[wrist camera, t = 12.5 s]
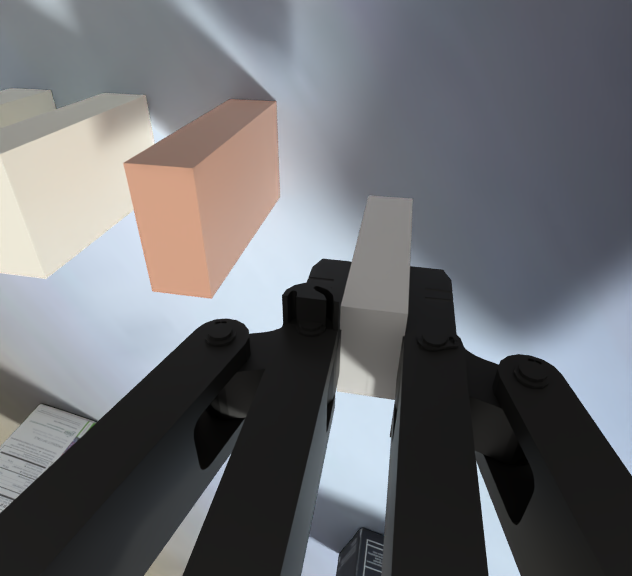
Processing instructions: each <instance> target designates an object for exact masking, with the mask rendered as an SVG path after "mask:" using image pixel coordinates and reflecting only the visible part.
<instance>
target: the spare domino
mask: <svg viewBox="0 0 632 576" xmlns="http://www.w3.org/2000/svg"><path fill="white" fill-rule="evenodd" d="M123 165H124V169H125V173H126V178H127V182H128V186H129V191H130V195H131V200H132V204H133V208H134V213H135V217H136V221H137V226H138V230H139V235H140V239H141V243H142V248H143V252H144V257H145V261H146V265H147V270H148V274H149V278H150V283H151V287H152V291H154V292H162V293H170V294H178V295H186V296H195V297H203V298H211V299H212V298H213V296H214V295H215V293H216V292H217V290H218V289H219V287H220V286H221V284H222V283H223V281H224V280H225V278H226V277H227V275H228V274H229V272H230V271H231V269H232V268H233V266H234V265H235V263H236V262H237V260H238V259H239V257H240V256H241V254H242V253H243V251H244V250H245V248H246V247H247V245H248V244H249V242H250V241H251V239H252V238H253V236H254V235H255V234H256V232H257V231H258V229H259V228H260V226H261V225H262V223H263V222H264V220H265V219H266V217H267V216H268V214H269V213H270V211H271V210H272V208H273V207H274V205H275V204H276V202H277V201H278V199H279V198H280V183H279V157H278V131H277V105H276V101H261V100H241V99H229V100H227V101H226V102H224V103H222V104H221V105H219V106H217V107H216V108H214V109H212V110H211V111H209V112H207V113H206V114H204V115H202V116H201V117H199V118H197V119H196V120H194V121H192V122H191V123H189V124H187V125H186V126H184V127H182V128H181V129H179V130H177V131H176V132H174V133H172V134H171V135H169V136H167V137H166V138H164V139H162V140H161V141H159V142H157V143H156V144H154V145H152V146H151V147H149V148H147V149H146V150H144V151H142V152H141V153H139V154H137V155H136V156H134V157H132V158H131V159H129V160H127V161H126V162H124V163H123Z"/></svg>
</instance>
